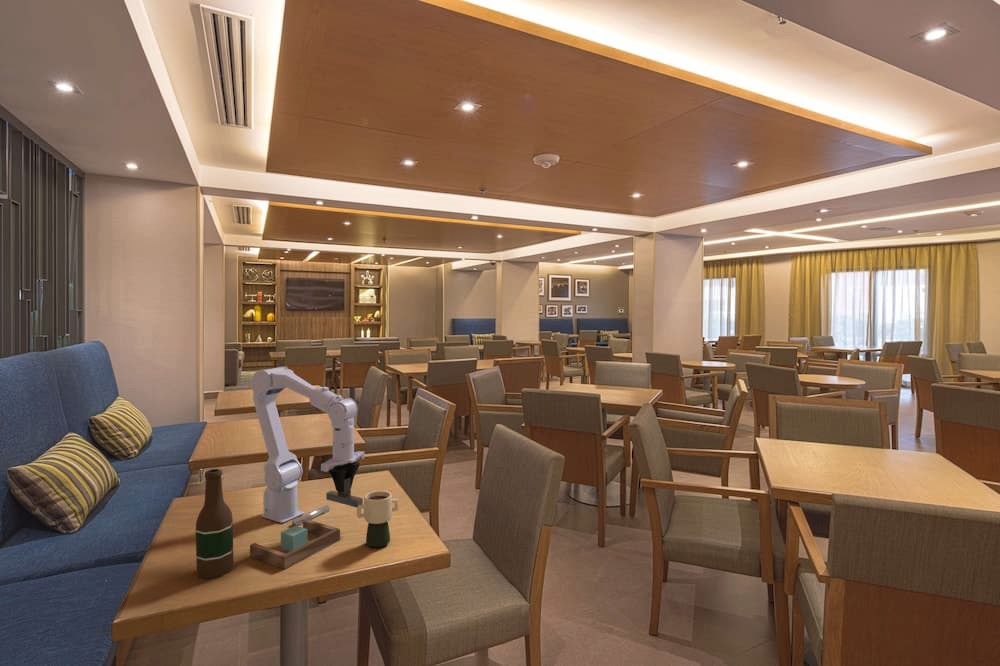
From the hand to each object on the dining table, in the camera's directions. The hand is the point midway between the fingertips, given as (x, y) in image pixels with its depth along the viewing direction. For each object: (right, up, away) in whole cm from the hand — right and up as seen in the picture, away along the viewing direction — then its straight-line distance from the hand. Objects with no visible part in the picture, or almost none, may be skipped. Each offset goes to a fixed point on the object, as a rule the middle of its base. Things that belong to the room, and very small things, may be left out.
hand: (343, 489), depth 145 cm
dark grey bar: (0, -4, 0) cm, 4 cm away
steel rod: (-11, -10, +6) cm, 16 cm away
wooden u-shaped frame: (-8, -11, -13) cm, 19 cm away
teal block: (-9, -11, -13) cm, 19 cm away
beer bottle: (-23, -12, -25) cm, 35 cm away
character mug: (+12, -11, -10) cm, 20 cm away
